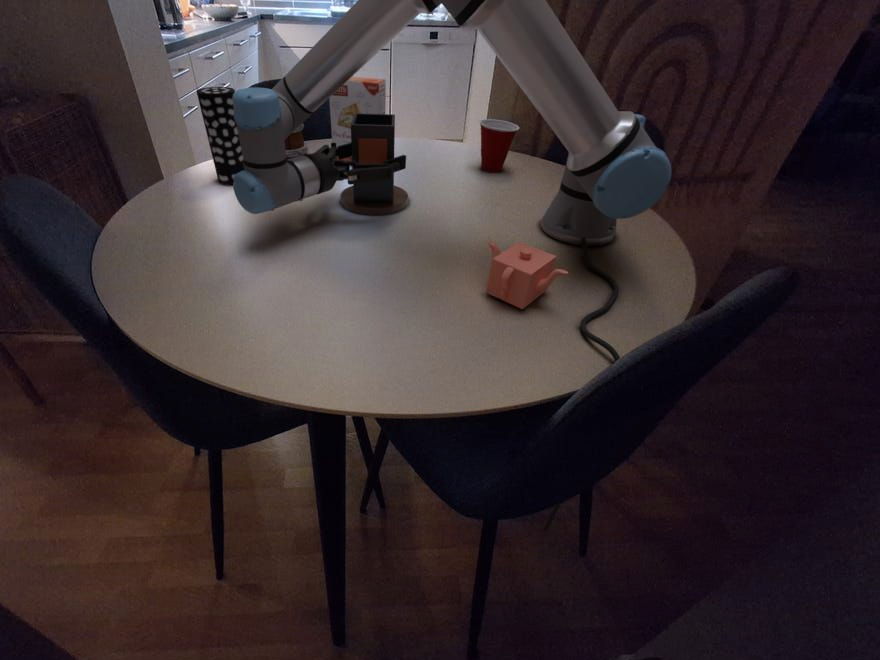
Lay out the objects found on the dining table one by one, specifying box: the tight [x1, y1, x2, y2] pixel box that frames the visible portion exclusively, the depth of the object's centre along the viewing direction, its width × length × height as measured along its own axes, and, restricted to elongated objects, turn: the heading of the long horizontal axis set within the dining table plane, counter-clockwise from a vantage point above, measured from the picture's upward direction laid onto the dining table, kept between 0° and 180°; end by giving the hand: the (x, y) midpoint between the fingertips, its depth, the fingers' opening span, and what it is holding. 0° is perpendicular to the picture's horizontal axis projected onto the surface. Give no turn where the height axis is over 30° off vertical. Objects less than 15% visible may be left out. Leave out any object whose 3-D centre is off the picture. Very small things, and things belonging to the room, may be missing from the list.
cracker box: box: [328, 75, 387, 161], centre depth 118 cm, size 14×6×21 cm, turn 73°
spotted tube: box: [195, 86, 244, 186], centre depth 106 cm, size 8×8×20 cm
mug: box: [284, 122, 309, 160], centre depth 123 cm, size 12×14×15 cm
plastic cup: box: [479, 118, 520, 173], centre depth 120 cm, size 11×11×12 cm
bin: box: [351, 113, 396, 203], centre depth 98 cm, size 9×10×16 cm
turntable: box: [340, 185, 409, 216], centre depth 104 cm, size 16×16×2 cm
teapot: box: [485, 240, 569, 310], centre depth 72 cm, size 12×15×8 cm
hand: (381, 154), depth 99 cm, fingers open, 13 cm apart
